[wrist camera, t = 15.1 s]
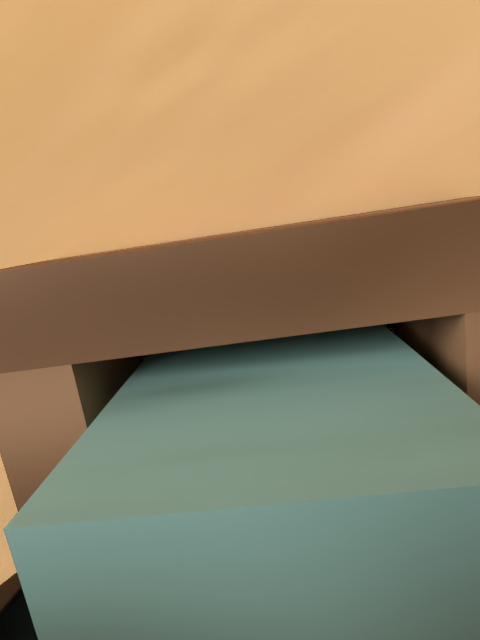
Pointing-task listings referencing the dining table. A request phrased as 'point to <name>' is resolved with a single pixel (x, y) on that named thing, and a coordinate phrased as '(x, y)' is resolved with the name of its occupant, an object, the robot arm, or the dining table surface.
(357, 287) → the brown square frame
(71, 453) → the pale teal cube
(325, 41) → the dining table surface
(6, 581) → the robot arm
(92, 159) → the dining table surface
